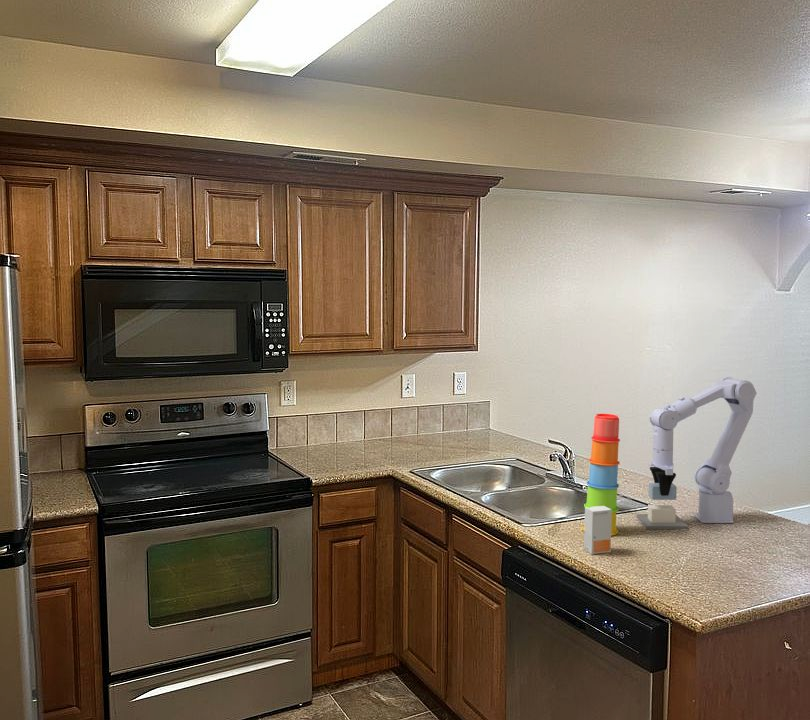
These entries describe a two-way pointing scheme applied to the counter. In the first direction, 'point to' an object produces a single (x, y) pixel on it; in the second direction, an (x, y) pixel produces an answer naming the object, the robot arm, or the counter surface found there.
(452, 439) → the counter surface
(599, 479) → the stacking cups
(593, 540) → the skincare box
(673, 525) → the baseplate
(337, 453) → the counter surface
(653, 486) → the blue brick
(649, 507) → the cream brick
